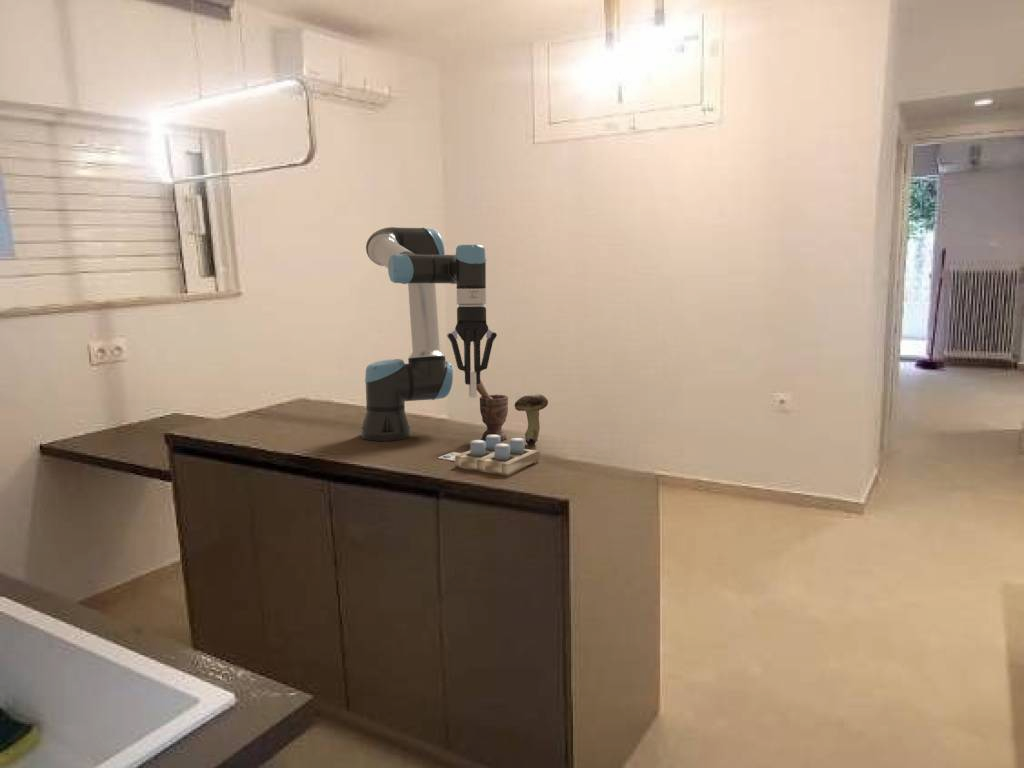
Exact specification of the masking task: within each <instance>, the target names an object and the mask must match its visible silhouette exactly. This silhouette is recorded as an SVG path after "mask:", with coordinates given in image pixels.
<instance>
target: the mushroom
mask: <svg viewBox="0 0 1024 768" xmlns="http://www.w3.org/2000/svg"><path fill="white" fill-rule="evenodd" d="M548 404H549V400H548V398H547V397H546V396H544V395H542V394H539V393H538V394H528V395H523V396H522V397H520V398H519V399H517V400H516V401H515V403H514V409H515V410H517V411H518V412H525V413H526V418H527V423H528V424H527V429H526V431H525V433H524V438H525V442H526V444H527V445H528V446H535V445H536V443H537V442H539V440H538V438H539V435H540V434H539V433H540V430H541V428H540V427H541V426H540V411H541V410H543V409H545V408H546V407H547V406H548Z"/></svg>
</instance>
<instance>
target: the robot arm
mask: <svg viewBox="0 0 1024 768" xmlns="http://www.w3.org/2000/svg"><path fill="white" fill-rule="evenodd" d="M365 250H366V251H365V252H366V254H367V257H368V258H369V260H371V262H372V263H374V264H375V265H377V266H379V267H380V266H381V267H385V268H387V273H388V276H389V280H390V282H391V283H394V284H402V285H407V287H408V302H409V303H408V304H409V318H410V330H411V331H410V332H411V333H410V334H411V346H412V347H411V348H412V352H411V354H410V355H409V357H408V358H407V361H408V363H405V362H404V360H403V359H401V358H396V359H395V358H394V359H384V360H379V361H375V362H372V363H370V364H368V365H367V366H366V368H365V379H364V382H365V398H366V399H365V406H366V412H365V415H364V419H363V423H362V427H361V429H360V435H361V438H362V439H364V440H366V441H367V440H368V441H373V442H375V441H376V442H377V441H378V442H386V441H388V442H390V441H399V440H403V439H404V440H405V439H407V438H409V437H410V436H411V435H412V433H411V432H412V431H411V430H412V428H411V426H410V425H409V420H408V418H407V414H406V411H405V410H406V409H405V406H406V405H405V402H414V401H415V402H416V401H431V400H432V401H435V400H439V399H445V398H446V397H447V396H448V395H449V394H450V393H451V392H450V391H452V386H453V379H454V371H453V364H452V363H451V362H450V361H446V355H445V354H444V353H443V352H441V347H440V346H441V345H440V332H439V318H438V304H437V303H438V302H437V287H436V284H450V285H456V305H458V306H457V308H456V324H455V328H454V330H453V331H451V332H449V333H447V335H446V337H447V339H448V340H449V341H450V343H451V346H452V350H453V351H452V352H453V355H454V359H455V363H456V366H457V369H458V370H459V371H462V372H464V383H465V385H468V396H469V398H470V399H471V398H473V399H474V398H477V397H478V395H477V394H478V393H477V392H478V391H477V390H476V384H480V380H481V372H482V371H484V370H487V369H488V366H489V361H490V356H491V353H492V352H491V351H492V348H493V345H494V344H493V343H494V341H495V340H496V338H497V335H498V334H497V333H496V332H494V331H492V330H491V329H489V326H488V324H487V308H486V306H484V305H486V304H487V294H486V293H487V291H486V289H487V285H486V283H487V281H486V280H487V279H486V278H487V277H486V275H487V273H486V272H487V270H486V268H487V267H486V264H487V263H486V262H487V258H486V248H485V247H484V245H482V244H459V245H457V246H456V249H455V254H445V251H446V250H445V244H444V242H443V238H442V236H441V234H440V233H439V231H438V230H437V229H434V228H426V227H395V226H394V227H393V226H391V227H384V228H381V229H379V230H376V231H374V232H373V233H372V234H371V235H370V236H369V238H368V239H367V241H366V246H365ZM458 336H459V337H460V339H461V340H462V341H463V355H464V358H463V359H462V356H461V353H460V352H461V351H460V348H459V344H458V340H457V339H458ZM485 336H486V340H485V341H486V342H485V347H484V351H483V355H482V359H481V341H482V340H483V338H484V337H485ZM471 343H473V366H474V367H473V369H474V371H471V370H472V369H471V366H472V365H471ZM463 361H464V362H463Z"/></svg>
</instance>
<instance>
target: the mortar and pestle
mask: <svg viewBox="0 0 1024 768" xmlns="http://www.w3.org/2000/svg"><path fill="white" fill-rule="evenodd" d="M476 390H477V392H478V393H479V394H480V397H479V410H480V411H479V412H480V414H481V415H480V416H481V421H482V422H483V424H484V425H486V430H485V431H484V432H483V433H482V440H483V441H486V436H487V435H499V436H501V441H504V440H506V439H507V433H506V432H505V431H504V430H503V429H502V426H503V425H504V424H505V422H506V421H507V417H508V412H509V396H508V395H503V394H489V393H488V391H487V389H486V386H485V385H484V383H483V381H482V380H481V379H480V384H476Z"/></svg>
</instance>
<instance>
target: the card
mask: <svg viewBox="0 0 1024 768" xmlns="http://www.w3.org/2000/svg"><path fill="white" fill-rule="evenodd" d="M462 453H463V452H461V453H460V452H456V451H455V452H454V451H453V452H450V453H449V452H448V453H447V454H444V455H441V456H439V457H437V459H439V460H445V461H450V462H455V456H456V455H459V454H462Z"/></svg>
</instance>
